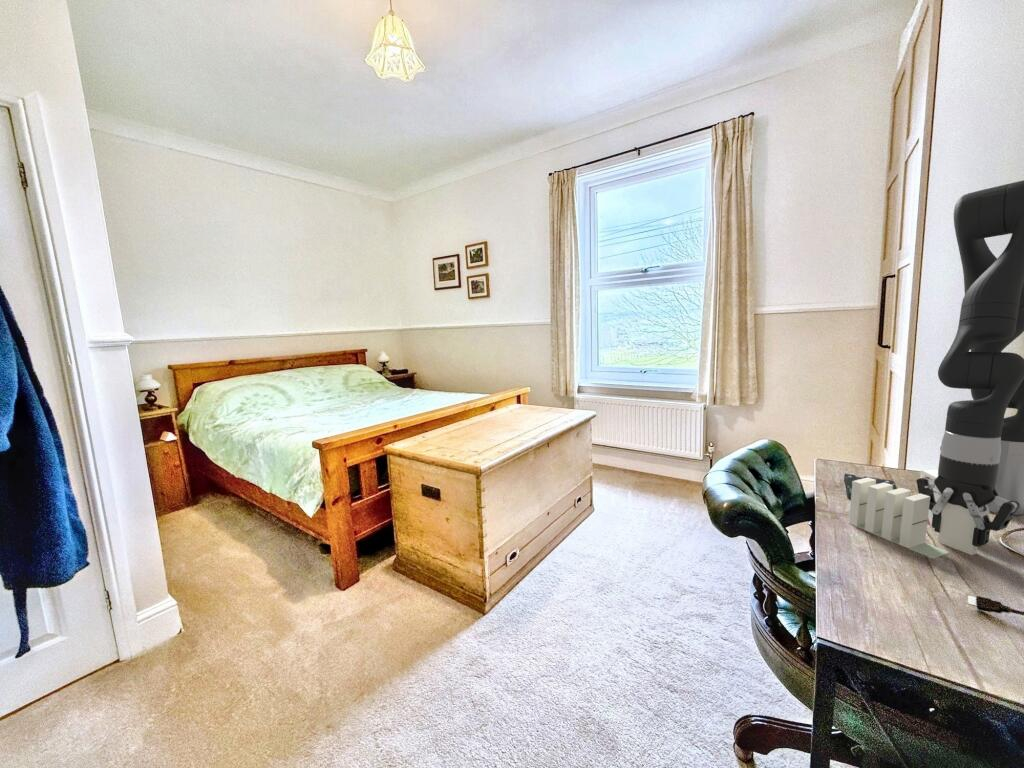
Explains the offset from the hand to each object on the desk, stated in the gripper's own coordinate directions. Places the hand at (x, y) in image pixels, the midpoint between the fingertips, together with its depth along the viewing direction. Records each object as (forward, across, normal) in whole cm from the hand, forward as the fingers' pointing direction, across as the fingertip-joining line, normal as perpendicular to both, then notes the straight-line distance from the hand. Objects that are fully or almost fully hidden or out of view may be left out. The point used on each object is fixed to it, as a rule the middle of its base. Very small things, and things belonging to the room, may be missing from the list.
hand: (957, 537), depth 79 cm
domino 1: (+2, +13, +6) cm, 15 cm away
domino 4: (+2, +4, +6) cm, 7 cm away
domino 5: (+2, 0, 0) cm, 2 cm away
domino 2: (+2, +10, +6) cm, 12 cm away
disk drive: (+3, +22, -13) cm, 26 cm away
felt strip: (+2, +7, +6) cm, 10 cm away
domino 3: (+2, +7, +6) cm, 10 cm away
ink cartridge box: (+3, +6, -8) cm, 10 cm away
